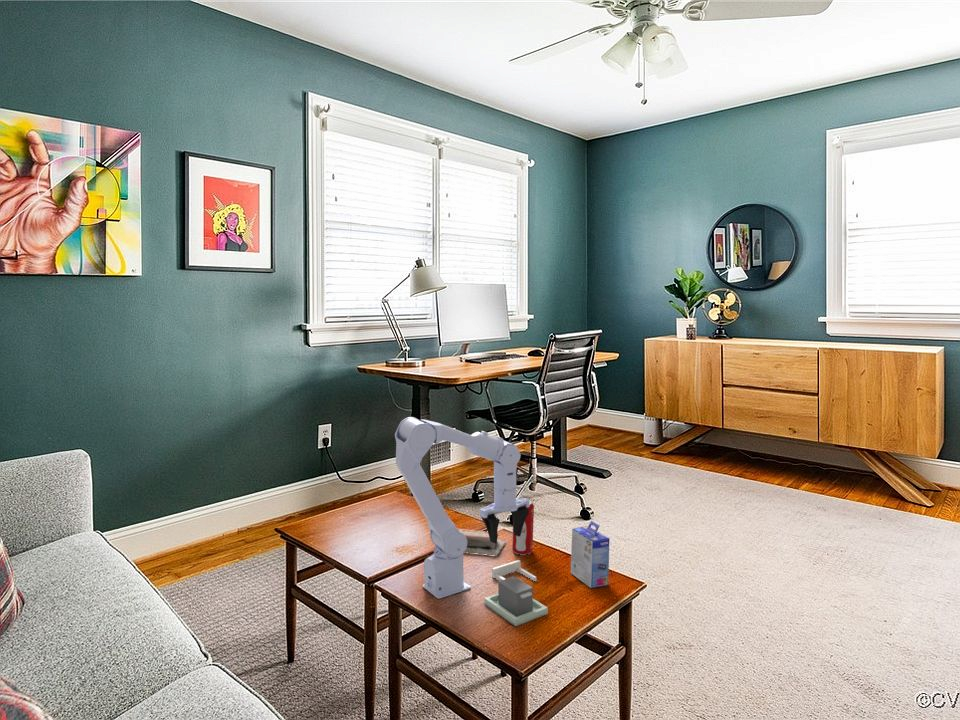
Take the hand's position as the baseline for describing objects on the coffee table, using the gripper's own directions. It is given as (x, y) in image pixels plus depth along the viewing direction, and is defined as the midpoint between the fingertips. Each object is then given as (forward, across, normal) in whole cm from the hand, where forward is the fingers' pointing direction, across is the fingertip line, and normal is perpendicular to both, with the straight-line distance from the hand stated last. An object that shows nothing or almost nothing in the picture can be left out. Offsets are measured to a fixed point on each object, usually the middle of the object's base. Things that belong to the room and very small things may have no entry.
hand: (505, 538), depth 157 cm
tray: (+9, -9, -16) cm, 21 cm away
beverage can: (+10, +12, +8) cm, 17 cm away
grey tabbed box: (+9, -9, -16) cm, 20 cm away
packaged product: (+10, +2, +20) cm, 22 cm away
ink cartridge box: (+10, +16, -15) cm, 24 cm away
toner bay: (+9, 0, -4) cm, 10 cm away
